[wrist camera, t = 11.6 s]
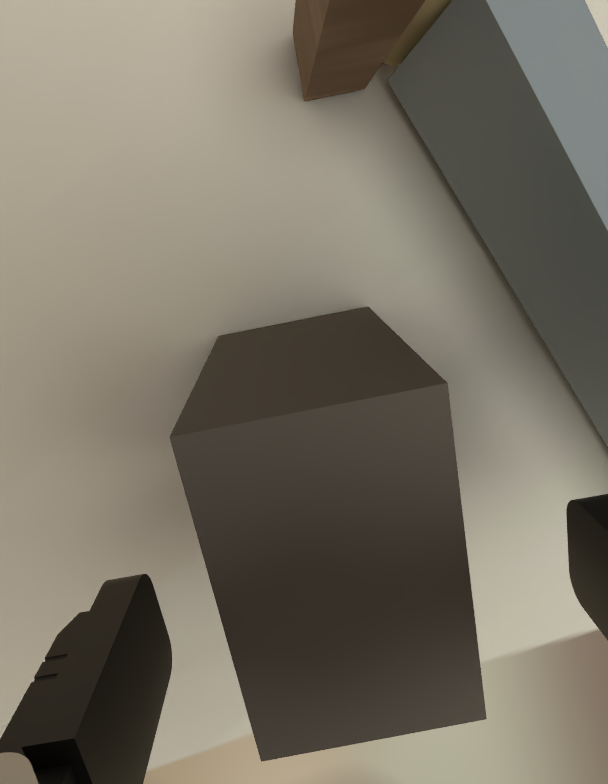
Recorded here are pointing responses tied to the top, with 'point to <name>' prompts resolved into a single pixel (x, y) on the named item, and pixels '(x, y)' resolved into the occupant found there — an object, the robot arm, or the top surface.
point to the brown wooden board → (346, 41)
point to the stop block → (332, 532)
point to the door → (524, 157)
